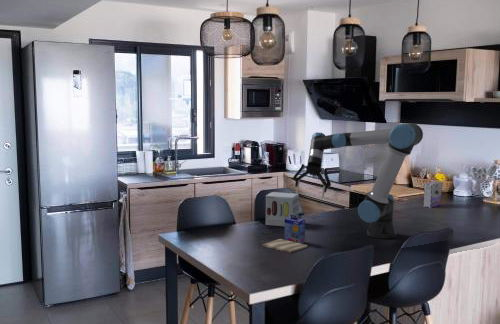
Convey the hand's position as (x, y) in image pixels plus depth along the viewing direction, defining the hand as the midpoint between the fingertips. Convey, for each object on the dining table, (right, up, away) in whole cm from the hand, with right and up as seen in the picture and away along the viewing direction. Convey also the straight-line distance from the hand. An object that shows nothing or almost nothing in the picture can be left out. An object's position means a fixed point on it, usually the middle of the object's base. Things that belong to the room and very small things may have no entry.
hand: (309, 195), depth 268 cm
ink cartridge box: (-8, -25, -1) cm, 26 cm away
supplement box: (-12, -20, +38) cm, 45 cm away
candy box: (+95, -14, +88) cm, 130 cm away
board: (-14, -25, -10) cm, 31 cm away
